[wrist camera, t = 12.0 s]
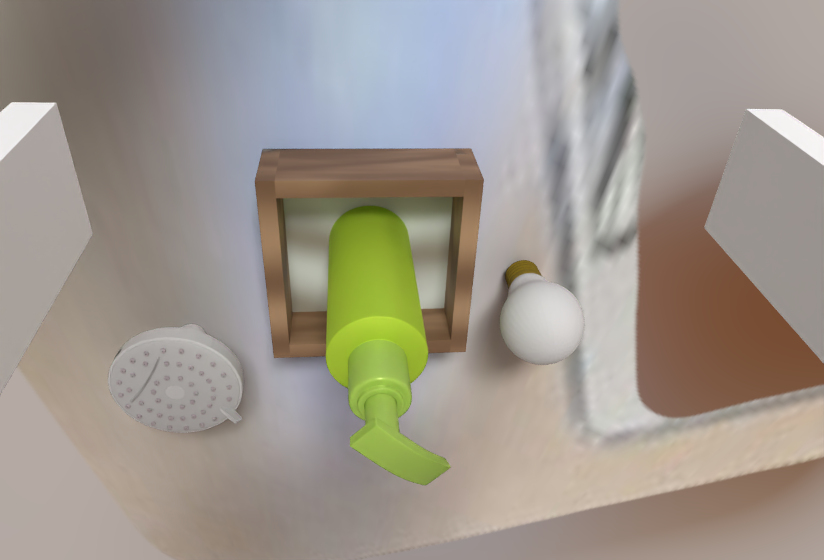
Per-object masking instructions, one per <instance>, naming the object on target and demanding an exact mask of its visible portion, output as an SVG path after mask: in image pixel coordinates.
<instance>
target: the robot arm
mask: <svg viewBox="0 0 824 560" xmlns="http://www.w3.org/2000/svg"><path fill="white" fill-rule="evenodd" d="M705 229H706V230H707V231H708V232H709V233H710V235H711V236H712V237H713V238H714V239H715V240H716V241H717V243H718V244H719V245H720V246H721V247H722V248H723V250H724V251H725V252H726V253H727V254H728V255H729V256H730V257H731V259H732V260H733V261H734V262H735V263H736V264H737V265H738V267H739V268H740V269H741V270H742V271H743V272H744V273H745V274H746V276H747V277H748V278H749V279H750V280H751V281H752V282H753V284H754V285H755V286H756V287H757V288H758V289H759V290H760V291H761V293H762V294H763V295H764V296H765V297H766V298H767V299H768V301H769V302H770V303H771V304H772V305H773V306H774V307H775V309H776V310H777V311H778V312H779V313H780V314H781V315H782V316H783V318H784V319H785V320H786V321H787V322H788V323H789V324H790V326H791V327H792V328H793V329H794V330H795V331H796V332H797V334H798V335H799V336H800V337H801V338H802V339H803V340H804V341H805V343H806V344H807V345H808V346H809V347H810V348H811V349H812V351H814V353H815V354H816V355H817V356H818V357H819V359H820V360H821V361H822V362H823V363H824V137H822V136H821V135H819V134H818V133H816V132H815V131H814V130H812V129H811V128H809V127H808V126H806V125H804V124H803V123H802V122H800V121H799V120H797V119H796V118H794V117H793V116H791V115H790V114H788V113H787V112H785V111H784V110H781V109H746V111H745V114H744V117H743V120H742V123H741V126H740V128H739V131H738V134H737V137H736V140H735V142H734V145H733V148H732V151H731V154H730V157H729V159H728V162H727V165H726V168H725V171H724V174H723V177H722V179H721V182H720V185H719V188H718V191H717V193H716V196H715V199H714V202H713V205H712V208H711V211H710V213H709V216H708V219H707V222H706V225H705ZM92 235H93V232H92V228H91V225H90V221H89V218H88V214H87V210H86V207H85V203H84V200H83V196H82V193H81V189H80V185H79V182H78V178H77V175H76V171H75V167H74V164H73V160H72V157H71V153H70V149H69V146H68V142H67V139H66V135H65V131H64V128H63V124H62V121H61V117H60V113H59V110H58V106H57V103H36V102H11V103H10V104H9V105H8V106H7V107H6V108H4V109H3V110H2V111H1V112H0V395H1V393H2V391H3V390H4V388H5V386H6V384H7V383H8V381H9V379H10V378H11V376H12V374H13V372H14V370H15V369H16V367H17V365H18V364H19V362H20V360H21V358H22V357H23V355H24V353H25V352H26V350H27V348H28V346H29V345H30V343H31V341H32V339H33V338H34V336H35V334H36V332H37V331H38V329H39V327H40V325H41V324H42V322H43V320H44V318H45V317H46V315H47V313H48V312H49V310H50V308H51V306H52V305H53V303H54V301H55V299H56V298H57V296H58V294H59V292H60V291H61V289H62V287H63V285H64V284H65V282H66V280H67V278H68V277H69V275H70V273H71V272H72V270H73V268H74V266H75V265H76V263H77V261H78V259H79V258H80V256H81V254H82V252H83V251H84V249H85V247H86V245H87V244H88V242H89V240H90V238H91V237H92Z"/></svg>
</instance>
